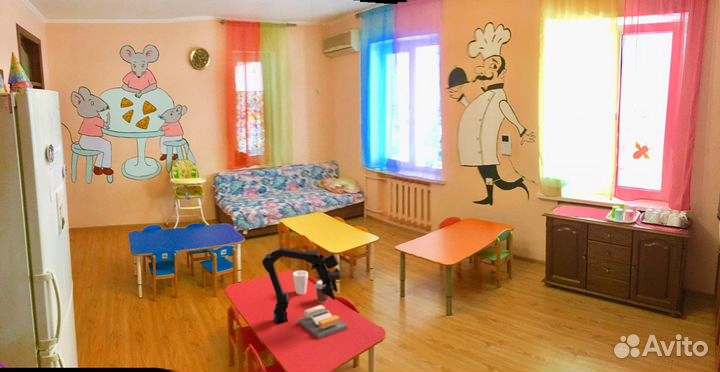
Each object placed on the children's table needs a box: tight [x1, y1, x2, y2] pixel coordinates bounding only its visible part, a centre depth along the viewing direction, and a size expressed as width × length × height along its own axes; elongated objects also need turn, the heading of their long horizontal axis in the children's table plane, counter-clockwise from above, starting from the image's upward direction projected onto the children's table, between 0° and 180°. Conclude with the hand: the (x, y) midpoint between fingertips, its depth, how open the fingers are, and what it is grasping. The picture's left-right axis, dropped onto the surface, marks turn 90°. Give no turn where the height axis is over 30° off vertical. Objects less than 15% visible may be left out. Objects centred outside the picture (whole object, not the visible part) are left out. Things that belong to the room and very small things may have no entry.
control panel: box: [297, 314, 348, 340], centre depth 271 cm, size 18×22×4 cm
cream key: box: [304, 305, 326, 318], centre depth 276 cm, size 11×4×3 cm, turn 126°
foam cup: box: [292, 270, 309, 295], centre depth 312 cm, size 10×9×13 cm
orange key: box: [319, 314, 341, 329], centre depth 265 cm, size 11×4×3 cm, turn 126°
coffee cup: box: [314, 279, 329, 304], centre depth 301 cm, size 9×9×12 cm
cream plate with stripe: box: [311, 309, 333, 325], centre depth 270 cm, size 11×7×1 cm, turn 126°
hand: (335, 295), depth 275 cm, fingers open, 9 cm apart
